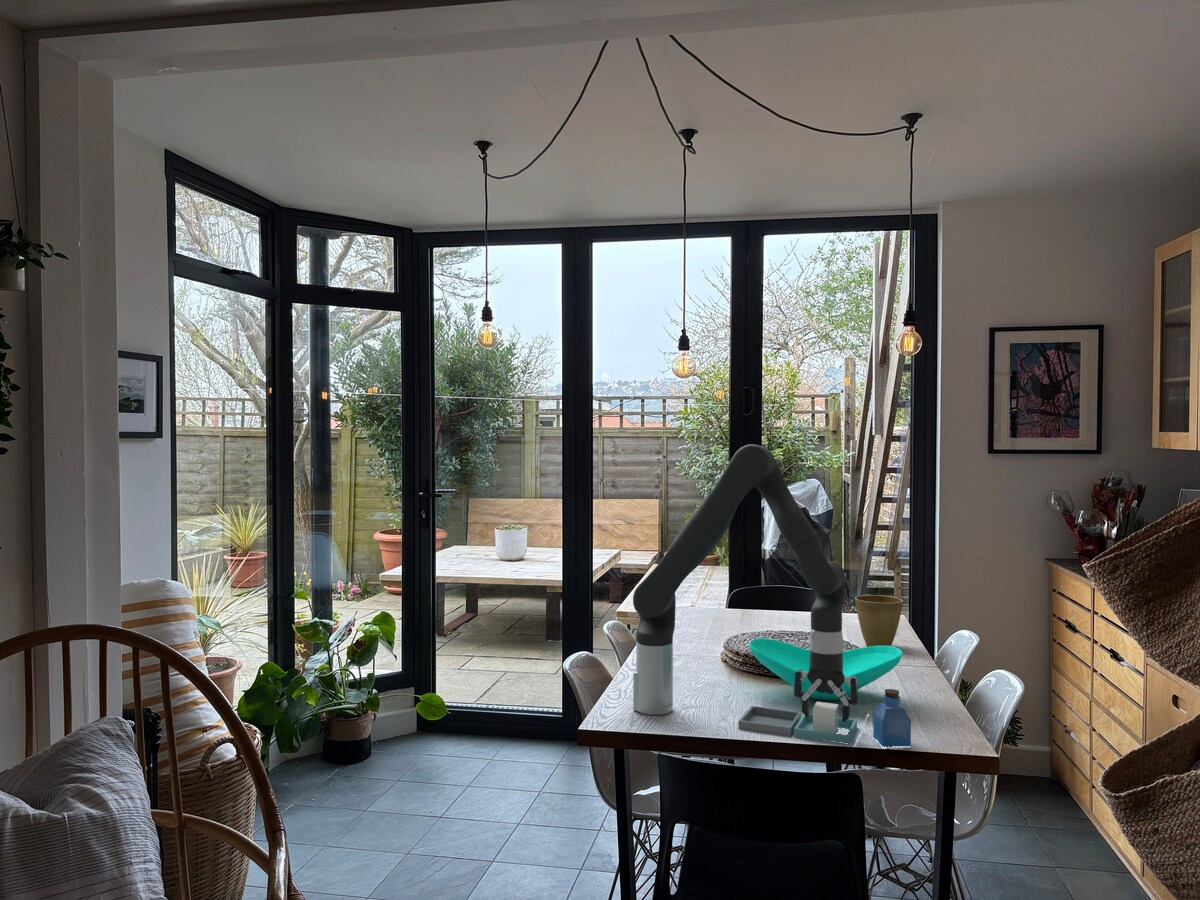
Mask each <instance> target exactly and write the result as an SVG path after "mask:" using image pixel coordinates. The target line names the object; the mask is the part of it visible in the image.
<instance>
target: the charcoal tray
mask: <svg viewBox="0 0 1200 900" xmlns="http://www.w3.org/2000/svg"><path fill="white" fill-rule="evenodd" d="M801 717H802V711H794V710H786V709H780V708H779V709H778V708H771V707H765V706H757V705H751V706H750V707H749V708H748V709H747V710H746V711H745V712H744V713H743V715H742V716H741V717H740V718H739V719H738V722H737V723H738V724H737V726H738V729H739V730H740V729H741V730H746V731H753V732H758V733H759V732H760V733H765V734H766V733H767V734H774V735H779V736H787V737H792V734H794V728H795V726H796V725H797V723H798V722H799V720H800V719H801Z"/></svg>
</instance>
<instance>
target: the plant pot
mask: <svg viewBox="0 0 1200 900" xmlns="http://www.w3.org/2000/svg"><path fill="white" fill-rule="evenodd" d="M854 601H855V607H856V612H857V618H858V622H859V627H860V631H861V634H862V638H863V640H864V643H865V647H871V646H893V642H894V640H895V637H896V634H897V630H898V627H899V624H900V621H901V620H900V619H901V614H902V611H903V603H904V600H903V599H901V598H899V597H895V596H890V595H889V596H888V595H877V594H875V595H874V594H872V595H871V594H869V595H868V594H866V595H857V596H855V598H854Z"/></svg>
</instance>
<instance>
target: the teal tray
mask: <svg viewBox="0 0 1200 900" xmlns="http://www.w3.org/2000/svg"><path fill="white" fill-rule="evenodd" d="M802 714H803V713H802ZM838 728H840V729H841V728H845V729H846V730H847V729H848V730H849V732H848V734H847V735H842V734H835V733H828V732H821V731H814V730H813V713H811V712H810V713H809V716H808V717H806V716H805V714H803V715H801V719H800V720H799V722H798V723H797V725H796V726H795V728H794V732H793V737H794V738H800V739H806V738H809V739H808V740H813V739H817V740H816V741H820V740H826V741H825V742H827V741H835V742H843V743H848V744H849V743H851V742H850V741H852V740H853V737H854V735H855V733H856V730H857V728H858V719H852V718H849V719H848V720H846V722H842V717H839V716H838ZM838 730H839V729H838ZM841 730H842V729H841ZM849 745H850V744H849Z"/></svg>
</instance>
